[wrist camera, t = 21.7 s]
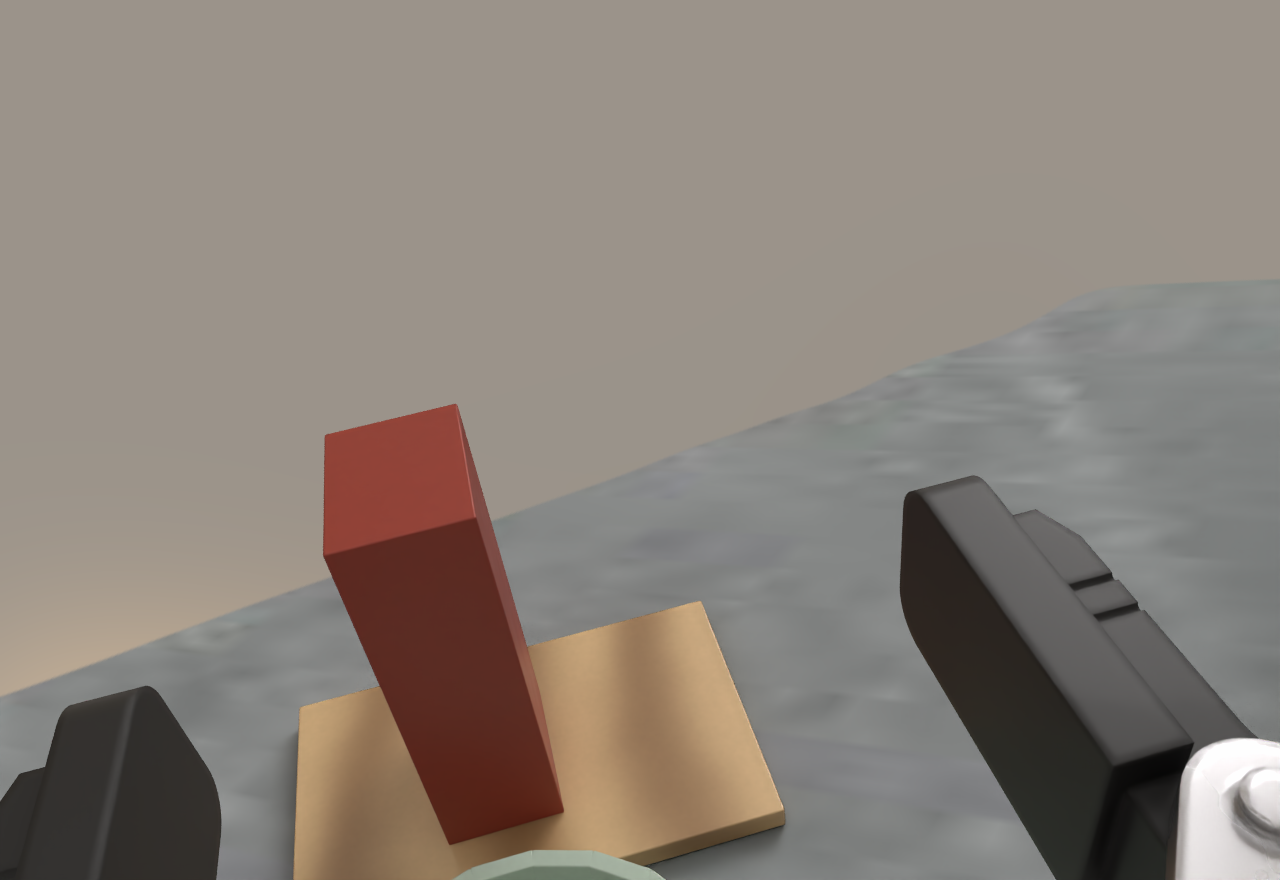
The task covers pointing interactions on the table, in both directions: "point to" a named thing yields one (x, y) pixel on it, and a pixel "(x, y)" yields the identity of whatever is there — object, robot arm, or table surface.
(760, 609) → the table surface
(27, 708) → the table surface
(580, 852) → the bowl
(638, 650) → the board
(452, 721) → the red rectangular block
